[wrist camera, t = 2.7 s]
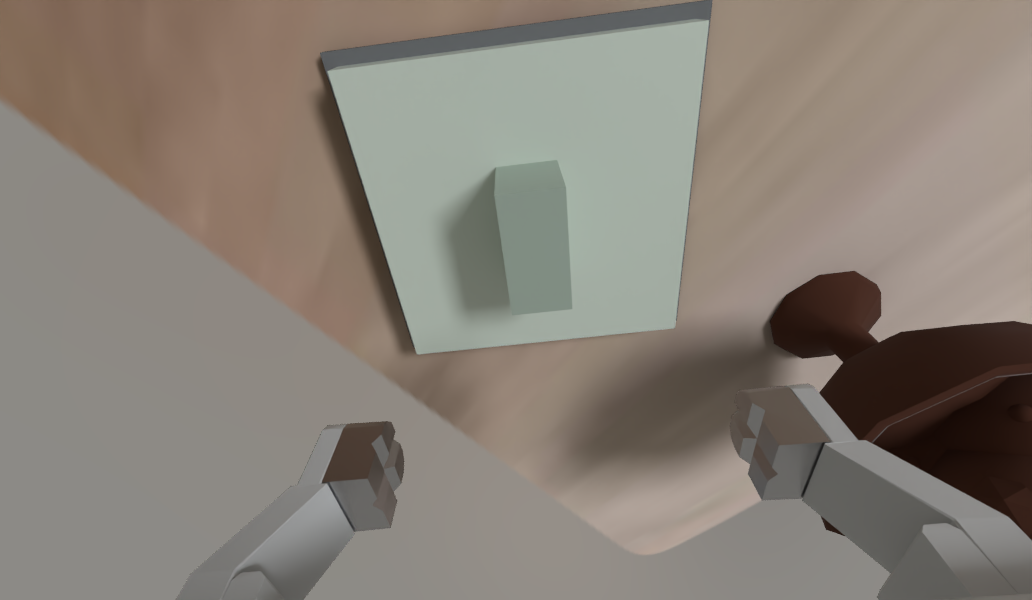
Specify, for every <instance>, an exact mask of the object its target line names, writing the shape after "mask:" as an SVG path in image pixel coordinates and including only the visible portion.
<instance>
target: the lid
mask: <svg viewBox="0 0 1032 600" xmlns="http://www.w3.org/2000/svg"><path fill="white" fill-rule="evenodd" d="M708 27H709V20H702V19H692V20H684V21H677V22H669V23H662V24H654V25H647V26H639V27H632V28H624V29H617V30H609V31H602V32H594V33H587V34H579V35H572V36H564V37H557V38H549V39H542V40H534V41H527V42H519V43H512V44H504V45H497V46H489V47H482V48H474V49H467V50H459V51H452V52H444V53H437V54H429V55H422V56H414V57H407V58H399V59H392V60H384V61H377V62H369V63H362V64H354V65H347V66H339V67H336V68H333V69H331V70H329V71H327V72H328V75H329V78H330V81H331V84H332V88H333V91H334V94H335V97H336V100H337V103H338V107H339V110H340V113H341V116H342V119H343V122H344V126H345V129H346V132H347V135H348V138H349V141H350V144H351V148H352V151H353V154H354V157H355V160H356V163H357V167H358V170H359V173H360V176H361V179H362V182H363V186H364V189H365V192H366V195H367V198H368V201H369V204H370V208H371V211H372V214H373V217H374V220H375V223H376V227H377V230H378V233H379V236H380V239H381V242H382V246H383V249H384V252H385V255H386V258H387V261H388V264H389V268H390V271H391V274H392V277H393V280H394V283H395V287H396V290H397V293H398V296H399V299H400V302H401V306H402V309H403V312H404V315H405V318H406V321H407V324H408V328H409V331H410V334H411V337H412V340H413V343H414V347H415V350H416V353H417V354H427V353H437V352H447V351H457V350H466V349H476V348H486V347H496V346H506V345H515V344H525V343H535V342H545V341H555V340H564V339H574V338H584V337H594V336H604V335H613V334H623V333H633V332H643V331H653V330H662V329H672V328H675V324H676V315H677V306H678V297H679V288H680V279H681V270H682V261H683V252H684V243H685V234H686V225H687V216H688V207H689V198H690V189H691V180H692V171H693V162H694V153H695V144H696V135H697V126H698V117H699V108H700V99H701V90H702V81H703V72H704V63H705V54H706V45H707V36H708Z"/></svg>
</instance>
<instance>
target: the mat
mask: <svg viewBox="0 0 1032 600" xmlns="http://www.w3.org/2000/svg"><path fill="white" fill-rule="evenodd" d="M711 9H712V0H704V1H697V2H689V3H682V4H675V5H667V6H660V7H652V8H645V9H638V10H630V11H623V12H615V13H608V14H601V15H593V16H586V17H578V18H571V19H564V20H556V21H549V22H541V23H534V24H527V25H519V26H512V27H504V28H497V29H490V30H482V31H475V32H467V33H460V34H453V35H445V36H438V37H430V38H423V39H416V40H408V41H401V42H393V43H386V44H379V45H371V46H364V47H356V48H349V49H341V50H334V51H327V52H322V53H320V55H321V58H322V61H323V64H324V68H325V71H326V74H327V77H328V80H329V83H330V86H331V90H332V93H333V96H334V99H335V102H336V105H337V108H338V111H339V115H340V118H341V121H342V124H343V127H344V130H345V133H346V137H347V140H348V143H349V146H350V149H351V152H352V155H353V159H354V162H355V165H356V168H357V171H358V174H359V177H360V181H361V184H362V187H363V190H364V193H365V196H366V199H367V203H368V206H369V209H370V212H371V215H372V218H373V221H374V225H375V228H376V231H377V234H378V237H379V240H380V243H381V247H382V250H383V253H384V256H385V259H386V262H387V265H388V268H389V264H388V261H387V258H386V255H385V252H384V249H383V246H382V242H381V239H380V236H379V233H378V230H377V227H376V223H375V220H374V217H373V214H372V211H371V208H370V204H369V201H368V198H367V195H366V192H365V189H364V186H363V182H362V179H361V176H360V173H359V170H358V167H357V163H356V160H355V157H354V154H353V151H352V148H351V144H350V141H349V138H348V135H347V132H346V129H345V126H344V122H343V119H342V116H341V113H340V110H339V107H338V103H337V100H336V97H335V94H334V91H333V88H332V84H331V81H330V78H329V75H328V72H327V71H329V70H331V69H333V68H336V67H339V66H347V65H354V64H362V63H369V62H377V61H384V60H392V59H399V58H407V57H414V56H422V55H429V54H437V53H444V52H452V51H459V50H467V49H474V48H482V47H489V46H497V45H504V44H512V43H519V42H527V41H534V40H542V39H549V38H557V37H564V36H572V35H579V34H587V33H594V32H602V31H609V30H617V29H624V28H632V27H639V26H647V25H654V24H662V23H669V22H677V21H684V20H692V19H702V20H709V27H710V18H711ZM709 27H708V36H709ZM708 36H707V45H708ZM707 45H706V53H707ZM705 62H706V54H705ZM704 71H705V63H704ZM703 80H704V72H703ZM702 89H703V81H702ZM701 98H702V90H701ZM700 107H701V99H700ZM699 116H700V108H699ZM698 125H699V117H698ZM697 134H698V126H697ZM696 143H697V135H696ZM695 152H696V144H695ZM694 160H695V153H694ZM693 169H694V162H693ZM692 178H693V171H692ZM691 187H692V180H691ZM690 196H691V189H690ZM689 205H690V198H689ZM688 214H689V207H688ZM687 223H688V216H687ZM686 232H687V225H686ZM685 241H686V234H685ZM684 250H685V243H684ZM683 259H684V252H683ZM682 268H683V261H682ZM389 272H390V275H391V278H392V281H393V284H394V287H395V283H394V280H393V277H392V274H391V271H390V268H389ZM681 276H682V270H681ZM680 285H681V279H680ZM395 290H396V287H395ZM396 294H397V297H398V300H399V303H400V306H401V302H400V299H399V296H398V293H397V290H396ZM679 294H680V288H679ZM678 303H679V297H678ZM401 309H402V306H401ZM402 312H403V309H402ZM677 312H678V306H677ZM403 316H404V319H405V322H406V325H407V328H408V324H407V321H406V318H405V315H404V312H403ZM676 321H677V315H676ZM408 331H409V328H408ZM409 334H410V331H409ZM410 338H411V341H412V344H413V347H414V343H413V340H412V337H411V334H410ZM414 348H415V347H414Z"/></svg>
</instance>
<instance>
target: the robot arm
mask: <svg viewBox="0 0 1032 600" xmlns="http://www.w3.org/2000/svg"><path fill="white" fill-rule="evenodd" d="M735 404H736V406H737V407H738V409H739V410H738V411H737V412H735V413H734V414H733V415H732V417H731V423H730V431H731V438H732V441H733V444H734V447H735V449H736V451H737V453H738V455H739V457H740V458H742V459H743V460H745V461H746V462H748V463H749V464H750V468H749V472H748V475H749V477H750V478H751V480H752V482H753V484H754V486H755V488H756V490H757V492H758V494H759V496H760V497H761V499H762V500H779V499H799V498H803V500H802V501H804V502H805V503H806V504H807V505H808V506H810V507H811V508H812V509H813V510H814V511H816V512H817V513H818V514H819V515H820V516H822V517H823V518H824V519H825V520H827V521H828V522H829V523H830V524H831V525H833V526H834V527H835V528H836V529H838V530H839V531H840V532H841V533H842V534H844V535H845V536H846V537H847V538H848V539H850V540H851V541H852V542H853V543H855V544H856V545H857V546H858V547H859V548H861V549H862V550H863V551H864V552H865V553H867V554H868V555H869V556H870V557H872V558H873V559H874V560H875V561H876V562H878V563H879V564H880V565H882V566H883V567H884V568H885V569H886V570H887V571H889V572H890V573H891V574H890V576H889V577H888V579H887V580H886V582H885V583H884V585H883V586H882V588H881V589H880V591H879V593H878V596H877V598H878V599H879V600H1032V540H1031V539H1030V538H1029V537H1028V536H1027V535H1026V534H1025V533H1024V532H1023V531H1022V530H1021V529H1020V528H1019V527H1018V526H1017V525H1016V524H1015V523H1014V522H1013V521H1012V520H1011V519H1010V518H1009V517H1007V516H1006V515H1004V514H1002V513H1000V512H998V511H996V510H994V509H993V508H991V507H989V506H987V505H985V504H983V503H982V502H980V501H978V500H976V499H974V498H972V497H970V496H969V495H967V494H965V493H963V492H961V491H959V490H957V489H956V488H954V487H952V486H950V485H948V484H946V483H944V482H943V481H941V480H939V479H937V478H935V477H933V476H931V475H930V474H928V473H926V472H924V471H922V470H920V469H918V468H917V467H915V466H913V465H911V464H909V463H907V462H906V461H904V460H902V459H900V458H898V457H896V456H894V455H893V454H891V453H889V452H887V451H885V450H883V449H881V448H880V447H878V446H876V445H874V444H872V443H870V442H868V441H867V440H858V439H857V438H856V437H855V436H854V434H853V433H852V432H851V431H850V430H849V428H848V427H847V426H846V425H845V424H844V422H843V421H842V420H841V419H840V418H839V416H838V415H837V414H836V413H835V412H834V410H833V409H832V408H831V407H830V406H829V404H828V403H827V402H826V401H825V399H824V398H823V397H822V396H821V395H820V393H819V392H818V391H817V390H816V389H815V387H813V386H812V385H810V384H799V385H789V386H777V387H767V388H757V389H746V390H739V392H738V393H737V394H736V398H735ZM394 435H395V430H394V427H393V425H392V423H391V422H388V421H386V422H369V423H353V424H344V425H328V426H327V427H326V428H324V429H323V431H322V432H321V434H320V437H319V439H318V441H317V443H316V445H315V447H314V450H313V452H312V454H311V456H310V458H309V461H308V463H307V465H306V467H305V469H304V472H303V474H302V476H301V478H300V480H299V482H298V485H297V486H291V487H289V488H288V489H287V490H286V491H285V492H284V493H282V494H281V495H280V496H279V497H278V498H277V499H276V500H274V501H273V502H272V503H271V504H270V505H269V506H268V507H266V508H265V509H264V510H263V511H262V512H261V513H260V514H258V515H257V516H256V517H255V518H254V519H253V520H252V521H250V522H249V523H248V524H247V525H246V526H245V527H244V528H242V529H241V530H240V531H239V532H238V533H237V534H236V535H234V536H233V537H232V538H231V539H230V540H229V541H228V542H227V543H225V544H224V545H223V546H222V547H221V548H220V549H219V550H218V551H216V552H215V553H214V554H213V555H212V556H211V557H209V558H208V559H207V560H206V561H205V562H204V563H202V564H201V565H200V566H199V567H198V568H197V569H196V570H194V571H193V572H192V573H191V574H190V576H189V577H188V579H187V581H186V583H185V585H184V586H183V588H182V590H181V591H180V593H179V595H178V596H177V598H176V600H304V598H305V597H306V595H308V593H309V592H310V591H311V589H312V588H313V587H314V586H315V584H316V583H317V582H318V580H319V579H320V578H321V577H322V575H323V574H324V573H325V571H326V570H327V569H328V568H329V566H330V565H331V564H332V562H333V561H334V560H335V559H336V557H337V556H338V555H339V553H340V552H341V551H342V550H343V548H344V547H345V546H346V545H347V543H348V542H349V541H350V539H351V538H352V537H353V536H354V534H355V533H354V532H355V531H365V530H375V529H384V528H391V525H392V520H393V516H394V512H395V508H396V504H397V499H396V497H395V495H394V491H395V489H396V488H397V487H398V486H399V485H400V484H401V482H402V478H403V473H404V456H403V450H402V448H401V445H400V444H399V443H398V442H396V441H395V440H394V439H393V438H394Z"/></svg>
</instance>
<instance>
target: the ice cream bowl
mask: <svg viewBox="0 0 1032 600" xmlns="http://www.w3.org/2000/svg"><path fill="white" fill-rule="evenodd" d="M880 316H881V292H880V290H879V288H878V286H877V284H875V283H873V282H872V281H870V280H868V279H867V278H865V277H863V276H862V275H860V274H859V273H857V272H855V271H850V272H842V273H833V274H825V275H819V276H817V277H815V278H814V279H812V280H810V281H809V282H807V283H806V284H804V285H802V286H801V287H799V288H797V289H796V290H794V291H792V292H791V293H789V294H788V295H786V297H785V298H784V300H783V302H782V303H781V305H780V306H779V308H778V309H777V311H776V313H775V314H774V316H773V317H772V319H771V321H770V324H771V329H772V335H773V340H774V344H776V345H778V346H779V347H781V348H783V349H785V350H787V351H789V352H791V353H793V354H795V355H797V356H799V357H801V358H812V357H822V356H831V355H834V354H836V355H837V356H838V357H839V358H840V359H841V360H842V361H843V364H842V365H841V366H840V367H839V369H838V370H837V371H836V372H835V374H834V375H833V376H832V377H831V379H830V380H829V381H828V382H827V384H826V385H825V386H824V388H823V389H822V390H821V391H820V395H821V396H822V397H823V398H824V399H825V401H826V402H827V403H828V404H829V406H830V407H831V408H832V409H833V410H834V412H835V413H836V414H837V415H838V416H839V418H840V419H841V420H842V421H843V422H844V424H845V425H846V426H847V427H848V428H849V430H850V431H851V432H852V433H853V434H854V436H855V437H856V438H857V439H858V440H867V441H868V442H870V443H872V444H874V445H876V446H878V447H880V448H881V449H883V450H885V451H887V452H889V453H891V454H893V455H894V456H896V457H898V458H900V459H902V460H904V461H906V462H907V463H909V464H911V465H913V466H915V467H917V468H918V469H920V470H922V471H924V472H926V473H928V474H930V475H931V476H933V477H935V478H937V479H939V480H941V481H943V482H944V483H946V484H948V485H950V486H952V487H954V488H956V489H957V490H959V491H961V492H963V493H965V494H967V495H969V496H970V497H972V498H974V499H976V500H978V501H980V502H982V503H983V504H985V505H987V506H989V507H991V508H993V509H994V510H996V511H998V512H1000V513H1002V514H1004V515H1006V516H1007V517H1009V518H1010V519H1011V520H1012V521H1013V522H1014V523H1015V524H1016V525H1017V526H1018V527H1019V528H1020V529H1021V530H1022V531H1023V532H1024V533H1025V534H1026V535H1027V536H1028V537H1029V538H1030V539H1031V540H1032V324H1026V323H1021V322H1016V321H1010V322H997V323H984V324H971V325H960V326H951V327H942V328H933V329H924V330H915V331H906V332H900V333H898V334H896V335H894V336H891V337H889V338H887V339H885V340H883V341H881V342H878V341H877V340H876V339H875V338H874V337H873V336H872V335H871V334H869V333H868V331H869V330H870V329H871V328H872V326H873V325H874V324H875V323H876V321H877V320H878V319H879V318H880ZM821 518H822V520H823V523H824V525H825V528H826V530H829V531H832V532H835V533H838V534H841V535H843V536H845V535H844V534H842V533H841V532H840V531H839V530H838V529H836V528H835V527H834V526H833V525H831V524H830V523H829V522H828V521H827V520H825V519H824V518H823V517H822V516H821Z"/></svg>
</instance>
